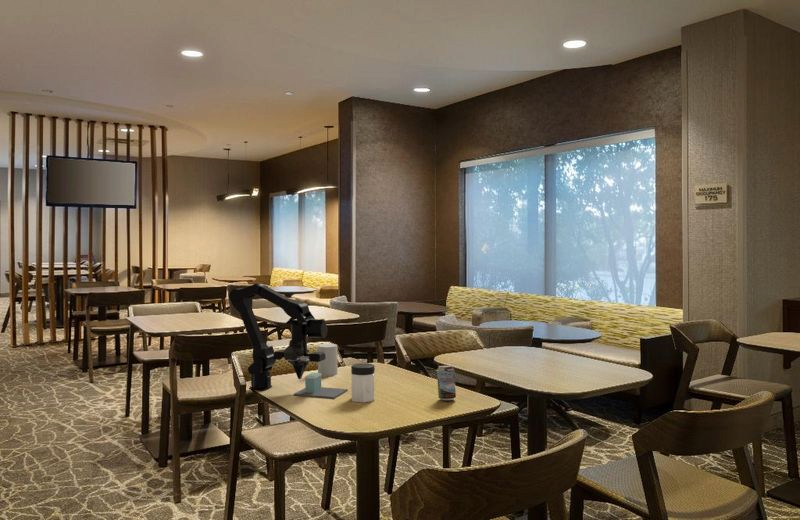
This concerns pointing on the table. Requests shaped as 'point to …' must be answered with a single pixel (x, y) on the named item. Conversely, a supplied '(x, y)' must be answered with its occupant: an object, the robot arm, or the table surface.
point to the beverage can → (446, 382)
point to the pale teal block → (313, 382)
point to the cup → (328, 360)
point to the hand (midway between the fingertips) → (299, 378)
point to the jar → (362, 382)
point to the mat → (322, 393)
